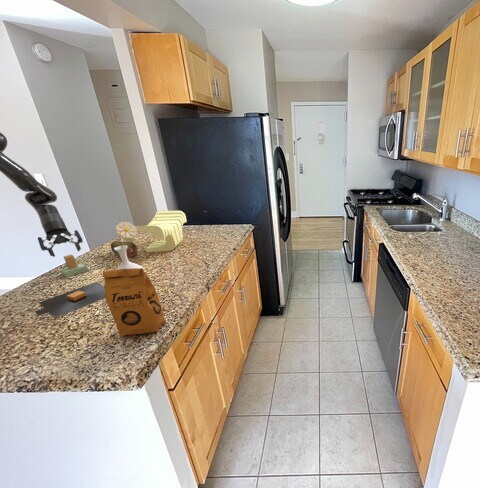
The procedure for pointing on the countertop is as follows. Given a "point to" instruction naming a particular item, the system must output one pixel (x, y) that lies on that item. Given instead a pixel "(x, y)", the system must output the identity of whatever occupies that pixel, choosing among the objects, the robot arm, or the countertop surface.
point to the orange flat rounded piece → (76, 295)
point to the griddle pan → (64, 305)
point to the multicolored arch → (130, 249)
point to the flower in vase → (126, 232)
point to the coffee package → (133, 301)
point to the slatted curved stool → (165, 230)
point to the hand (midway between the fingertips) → (66, 253)
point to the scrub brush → (72, 267)
